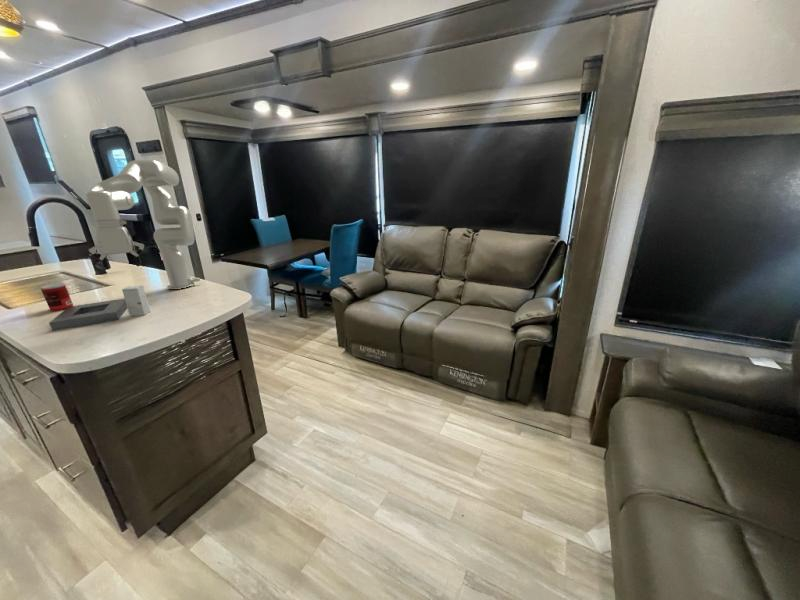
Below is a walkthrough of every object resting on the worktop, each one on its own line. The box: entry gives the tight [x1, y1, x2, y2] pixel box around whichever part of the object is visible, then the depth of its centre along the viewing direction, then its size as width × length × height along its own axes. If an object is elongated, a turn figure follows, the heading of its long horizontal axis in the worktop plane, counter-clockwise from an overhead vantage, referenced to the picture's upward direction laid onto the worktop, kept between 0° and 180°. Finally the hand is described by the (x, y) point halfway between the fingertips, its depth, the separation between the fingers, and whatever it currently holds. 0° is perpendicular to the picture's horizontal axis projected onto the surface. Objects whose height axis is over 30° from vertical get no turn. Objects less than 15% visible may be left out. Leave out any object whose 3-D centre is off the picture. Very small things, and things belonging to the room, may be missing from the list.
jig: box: [48, 298, 128, 332], centre depth 133 cm, size 20×20×4 cm
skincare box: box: [121, 285, 151, 317], centre depth 134 cm, size 6×4×12 cm
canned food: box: [40, 282, 74, 312], centre depth 144 cm, size 8×8×11 cm
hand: (123, 267), depth 129 cm, fingers open, 9 cm apart
